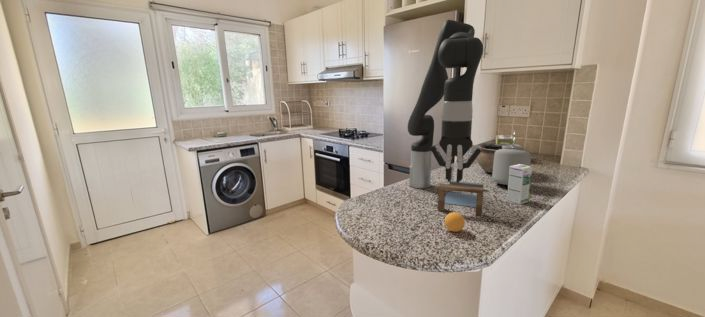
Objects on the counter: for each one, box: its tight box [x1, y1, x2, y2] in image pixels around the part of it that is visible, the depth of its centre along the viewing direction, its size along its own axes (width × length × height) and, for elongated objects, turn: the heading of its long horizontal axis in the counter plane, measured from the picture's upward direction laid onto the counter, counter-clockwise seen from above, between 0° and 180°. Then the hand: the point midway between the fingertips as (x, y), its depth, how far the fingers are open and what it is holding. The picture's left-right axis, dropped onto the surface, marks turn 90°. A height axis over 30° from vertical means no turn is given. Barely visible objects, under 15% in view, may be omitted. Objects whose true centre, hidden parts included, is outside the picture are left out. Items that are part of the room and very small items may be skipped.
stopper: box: [449, 180, 484, 188], centre depth 133 cm, size 14×2×2 cm, turn 65°
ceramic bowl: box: [476, 141, 523, 174], centre depth 156 cm, size 22×22×15 cm
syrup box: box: [506, 164, 533, 205], centre depth 115 cm, size 6×6×14 cm
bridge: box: [437, 183, 485, 218], centre depth 106 cm, size 3×15×10 cm, turn 65°
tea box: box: [495, 134, 516, 145], centre depth 186 cm, size 15×10×15 cm, turn 157°
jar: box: [491, 130, 532, 186], centre depth 134 cm, size 19×15×25 cm
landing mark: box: [445, 191, 477, 208], centre depth 120 cm, size 14×14×1 cm
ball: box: [444, 211, 466, 233], centre depth 92 cm, size 6×6×6 cm
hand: (453, 181), depth 81 cm, fingers closed
